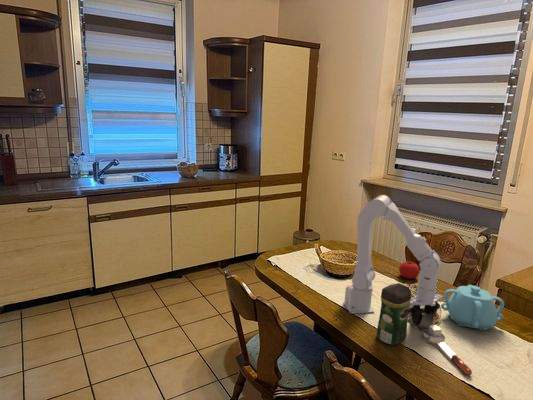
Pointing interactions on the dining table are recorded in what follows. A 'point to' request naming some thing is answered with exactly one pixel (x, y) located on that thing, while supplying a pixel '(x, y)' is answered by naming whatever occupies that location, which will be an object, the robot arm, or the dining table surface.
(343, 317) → the dining table surface
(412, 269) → the tomato
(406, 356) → the dining table surface
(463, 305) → the decorative pot
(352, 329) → the dining table surface
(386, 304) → the coffee jar
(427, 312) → the socket
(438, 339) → the ratchet
